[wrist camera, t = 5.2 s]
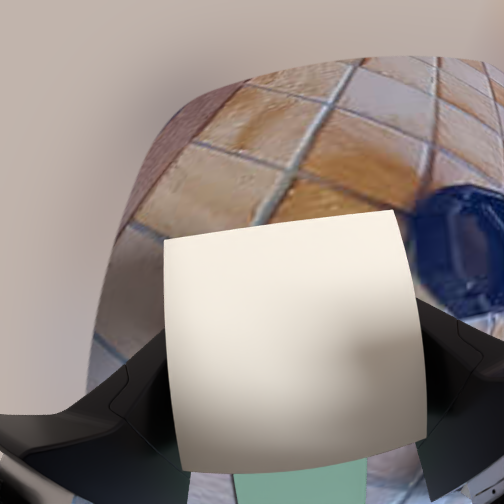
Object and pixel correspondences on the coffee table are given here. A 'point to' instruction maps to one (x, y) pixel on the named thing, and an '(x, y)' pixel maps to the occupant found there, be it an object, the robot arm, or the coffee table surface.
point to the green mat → (306, 485)
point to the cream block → (293, 345)
